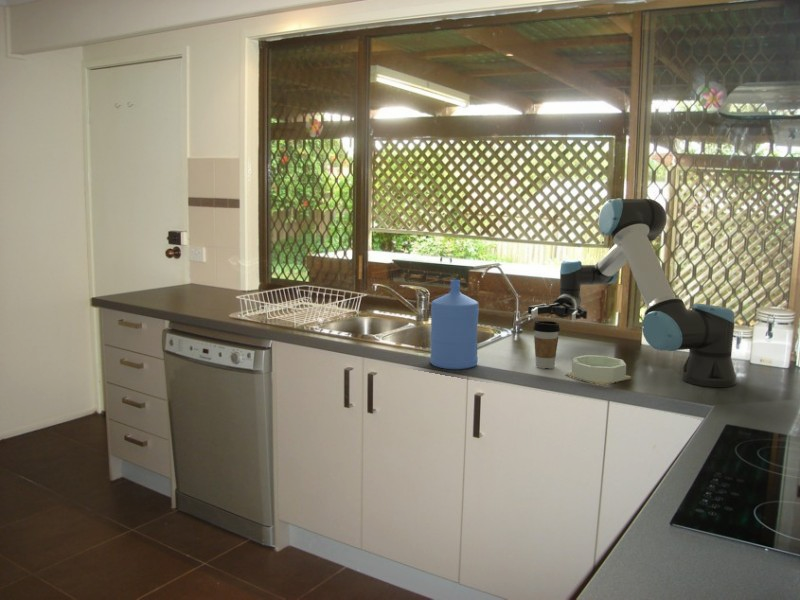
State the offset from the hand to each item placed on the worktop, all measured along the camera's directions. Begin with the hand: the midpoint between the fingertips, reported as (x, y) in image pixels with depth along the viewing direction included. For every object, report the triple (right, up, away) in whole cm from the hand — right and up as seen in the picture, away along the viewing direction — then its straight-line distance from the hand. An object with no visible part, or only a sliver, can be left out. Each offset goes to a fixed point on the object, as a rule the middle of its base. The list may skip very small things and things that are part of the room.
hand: (552, 316), depth 229 cm
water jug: (-33, -16, -4) cm, 37 cm away
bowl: (+10, -18, -19) cm, 28 cm away
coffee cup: (-4, -16, -7) cm, 18 cm away
